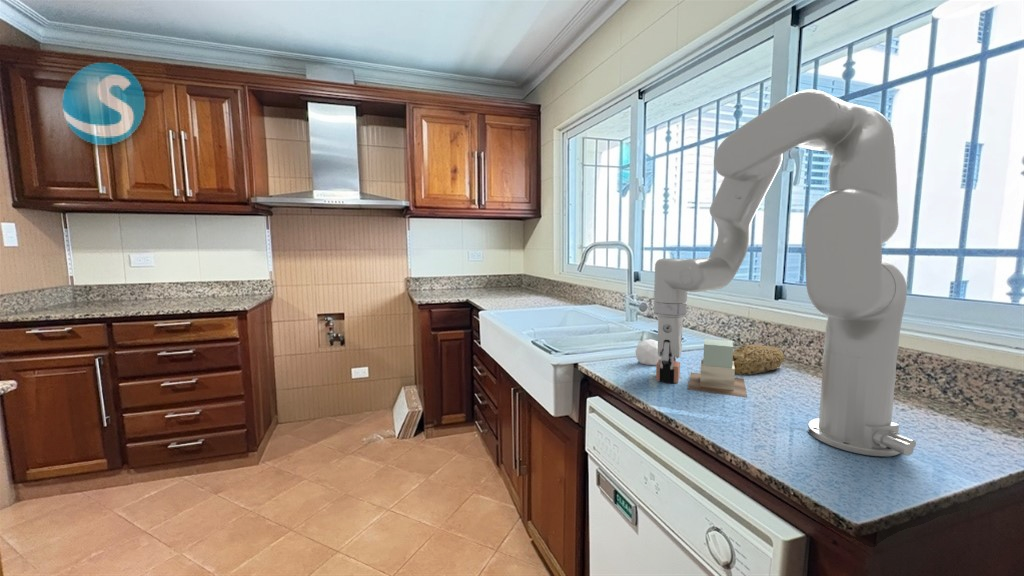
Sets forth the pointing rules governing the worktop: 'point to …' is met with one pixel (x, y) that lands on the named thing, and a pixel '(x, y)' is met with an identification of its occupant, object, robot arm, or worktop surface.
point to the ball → (648, 352)
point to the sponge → (756, 359)
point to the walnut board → (738, 388)
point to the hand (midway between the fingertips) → (667, 380)
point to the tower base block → (717, 377)
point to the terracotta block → (675, 366)
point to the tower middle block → (718, 353)
